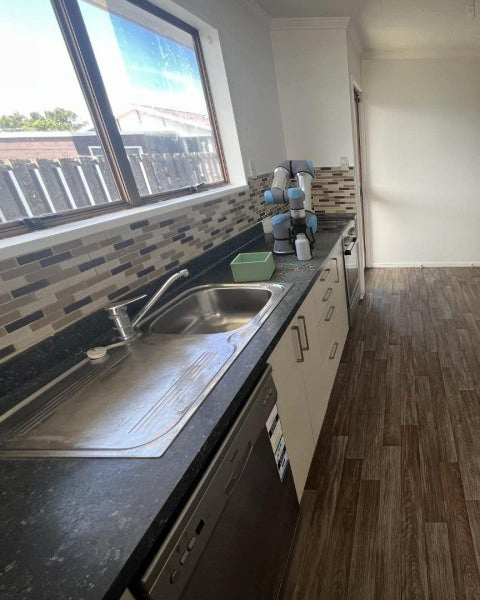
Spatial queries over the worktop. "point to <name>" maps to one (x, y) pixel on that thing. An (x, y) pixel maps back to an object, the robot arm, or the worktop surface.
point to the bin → (252, 267)
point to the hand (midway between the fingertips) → (304, 255)
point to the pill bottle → (302, 247)
